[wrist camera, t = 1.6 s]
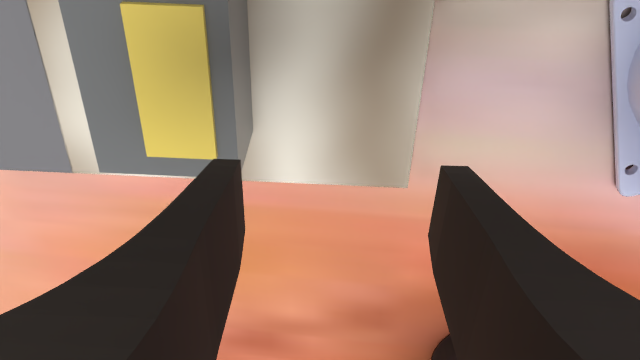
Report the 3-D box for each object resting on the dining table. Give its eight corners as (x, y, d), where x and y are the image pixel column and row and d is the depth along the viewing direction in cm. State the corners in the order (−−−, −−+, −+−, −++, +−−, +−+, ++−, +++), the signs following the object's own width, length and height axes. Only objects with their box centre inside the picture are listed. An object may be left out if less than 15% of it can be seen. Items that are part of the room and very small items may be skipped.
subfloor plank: (448, -135, 18) (454, -131, 17) (405, 172, 24) (407, 187, 23) (-276, -161, 18) (-312, -159, 17) (-121, 149, 25) (-141, 163, 24)
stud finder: (244, -53, 18) (224, -25, 15) (253, 130, 22) (238, 182, 19) (96, -59, 18) (46, -32, 15) (131, 125, 22) (97, 176, 19)
